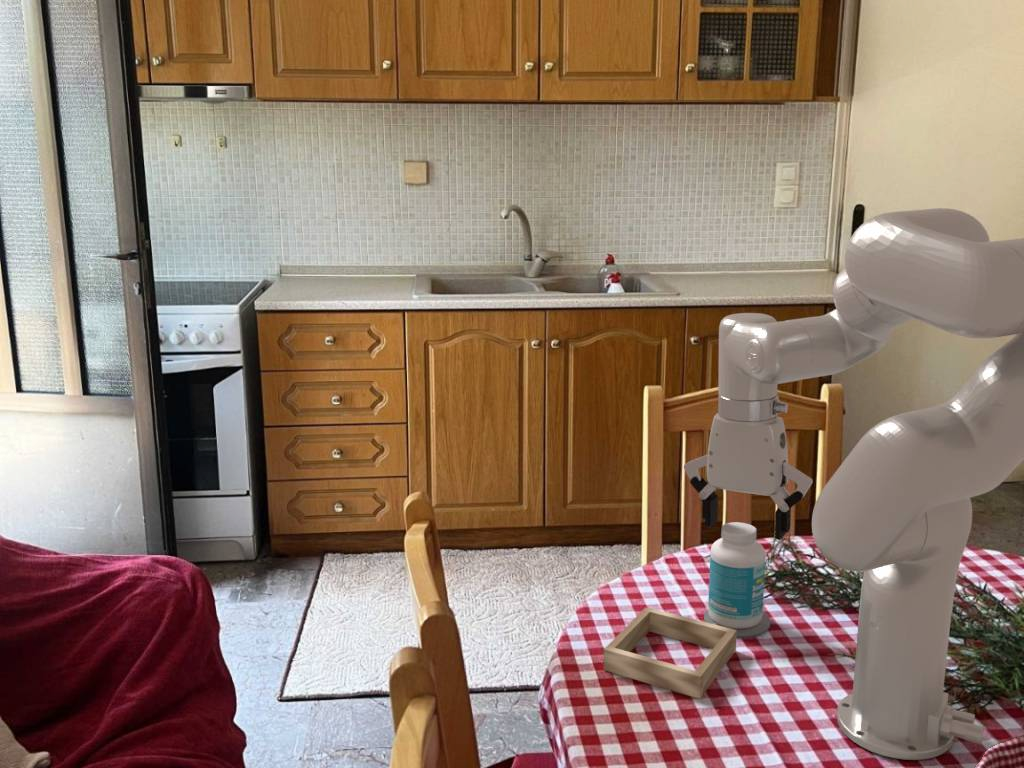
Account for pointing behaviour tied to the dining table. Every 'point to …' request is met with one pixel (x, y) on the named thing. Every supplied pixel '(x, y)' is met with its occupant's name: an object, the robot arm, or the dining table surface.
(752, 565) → the pill bottle
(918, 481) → the robot arm
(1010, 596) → the dining table surface
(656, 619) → the wooden frame
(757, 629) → the stone
